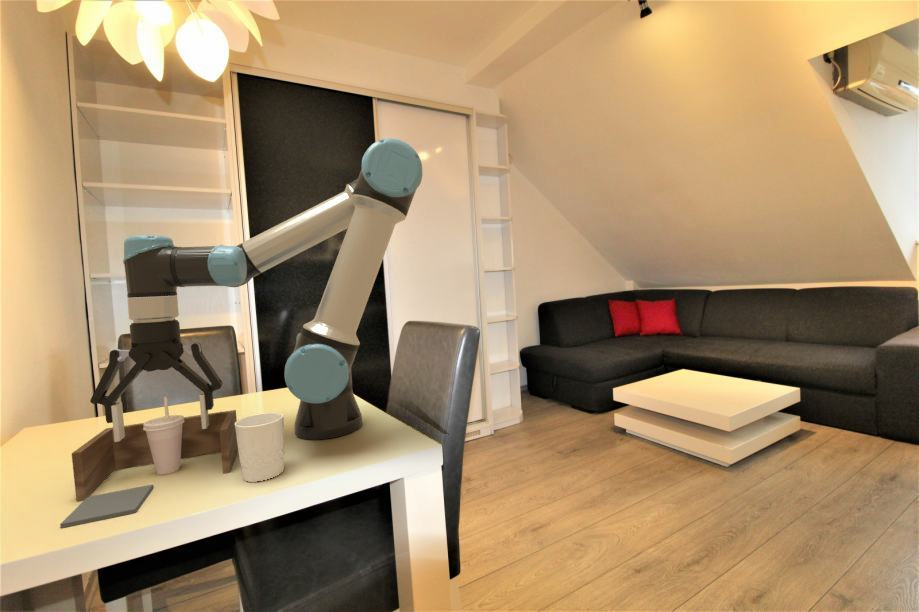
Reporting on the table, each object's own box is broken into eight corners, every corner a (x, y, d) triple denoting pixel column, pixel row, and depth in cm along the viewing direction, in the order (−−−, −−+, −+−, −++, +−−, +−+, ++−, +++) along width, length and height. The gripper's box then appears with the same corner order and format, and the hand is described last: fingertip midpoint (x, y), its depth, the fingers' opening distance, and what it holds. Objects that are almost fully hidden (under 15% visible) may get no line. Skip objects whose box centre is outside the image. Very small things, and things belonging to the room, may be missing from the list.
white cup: (233, 475, 76) (228, 420, 76) (277, 461, 82) (273, 410, 81) (248, 488, 71) (243, 429, 70) (294, 472, 76) (290, 417, 76)
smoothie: (192, 469, 80) (185, 396, 79) (150, 481, 76) (143, 404, 75) (184, 460, 85) (178, 391, 84) (144, 471, 80) (137, 398, 80)
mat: (153, 487, 73) (153, 484, 73) (135, 512, 65) (135, 508, 65) (88, 500, 70) (87, 496, 70) (60, 528, 61) (60, 524, 61)
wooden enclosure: (238, 446, 91) (235, 409, 90) (230, 472, 78) (226, 429, 77) (110, 468, 83) (106, 428, 82) (76, 501, 70) (71, 453, 69)
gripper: (232, 314, 87) (240, 417, 88) (79, 324, 78) (89, 438, 79) (228, 316, 80) (236, 427, 81) (58, 327, 71) (70, 452, 72)
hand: (164, 433), depth 80 cm, fingers open, 13 cm apart
